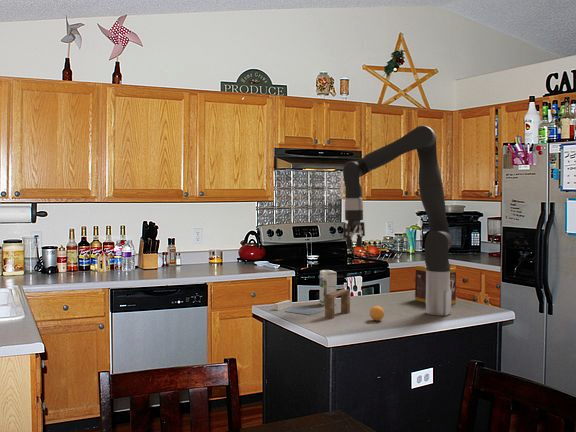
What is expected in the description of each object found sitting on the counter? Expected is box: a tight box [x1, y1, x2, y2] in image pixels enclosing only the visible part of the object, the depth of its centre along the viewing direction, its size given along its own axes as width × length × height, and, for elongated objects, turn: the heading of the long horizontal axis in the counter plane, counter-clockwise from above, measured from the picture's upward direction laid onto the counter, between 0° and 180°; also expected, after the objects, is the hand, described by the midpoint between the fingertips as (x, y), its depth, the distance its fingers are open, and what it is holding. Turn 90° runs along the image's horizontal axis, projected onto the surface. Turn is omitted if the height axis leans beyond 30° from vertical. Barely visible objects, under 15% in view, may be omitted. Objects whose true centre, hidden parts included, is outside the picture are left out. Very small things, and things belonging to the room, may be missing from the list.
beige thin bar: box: [273, 299, 293, 311], centre depth 256 cm, size 2×10×2 cm, turn 146°
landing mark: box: [284, 306, 325, 316], centre depth 250 cm, size 12×12×1 cm
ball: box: [369, 305, 385, 322], centre depth 232 cm, size 6×6×6 cm
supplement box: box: [414, 264, 457, 305], centre depth 271 cm, size 10×15×16 cm
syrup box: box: [318, 269, 338, 307], centre depth 264 cm, size 6×6×14 cm
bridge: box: [324, 288, 351, 320], centre depth 241 cm, size 3×14×9 cm, turn 146°
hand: (354, 247), depth 258 cm, fingers open, 8 cm apart
